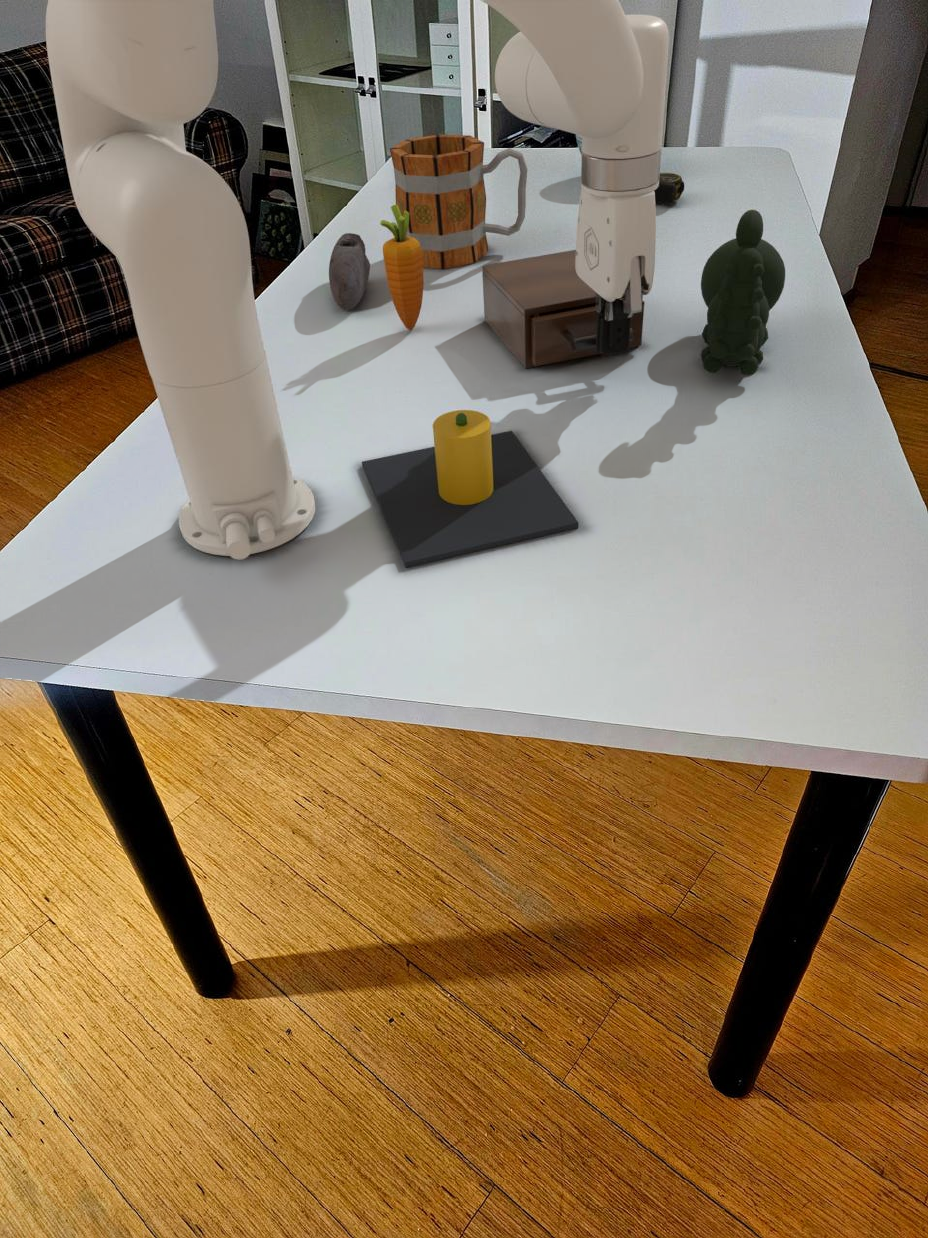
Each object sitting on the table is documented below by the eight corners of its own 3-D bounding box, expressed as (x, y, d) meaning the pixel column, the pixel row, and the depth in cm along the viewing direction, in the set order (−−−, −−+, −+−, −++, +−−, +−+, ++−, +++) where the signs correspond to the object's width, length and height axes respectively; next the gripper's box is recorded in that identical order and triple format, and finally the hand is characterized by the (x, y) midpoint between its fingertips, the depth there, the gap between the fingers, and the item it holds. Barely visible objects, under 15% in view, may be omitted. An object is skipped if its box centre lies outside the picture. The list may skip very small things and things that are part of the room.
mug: (397, 271, 131) (385, 160, 121) (403, 241, 141) (392, 137, 132) (530, 263, 130) (529, 151, 120) (526, 234, 140) (525, 128, 131)
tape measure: (633, 204, 149) (634, 180, 146) (651, 193, 153) (653, 169, 150) (670, 209, 145) (672, 185, 143) (688, 197, 149) (691, 173, 147)
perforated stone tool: (363, 319, 118) (355, 266, 114) (324, 321, 119) (315, 268, 114) (375, 278, 130) (369, 229, 125) (340, 280, 130) (332, 230, 125)
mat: (578, 527, 79) (578, 522, 79) (405, 567, 76) (404, 562, 76) (511, 435, 92) (511, 430, 92) (362, 466, 90) (361, 461, 89)
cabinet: (639, 346, 107) (643, 287, 102) (525, 368, 104) (524, 309, 100) (588, 301, 118) (590, 246, 114) (484, 320, 116) (481, 265, 111)
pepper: (500, 498, 83) (497, 420, 77) (447, 509, 82) (440, 432, 76) (483, 470, 86) (479, 395, 81) (432, 481, 85) (425, 406, 80)
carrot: (424, 338, 112) (412, 213, 103) (387, 337, 113) (371, 213, 104) (433, 322, 116) (422, 200, 106) (396, 321, 117) (383, 201, 107)
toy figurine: (769, 412, 96) (777, 303, 113) (801, 237, 83) (806, 142, 99) (680, 405, 99) (701, 299, 115) (697, 234, 85) (719, 142, 101)
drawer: (657, 359, 102) (661, 314, 98) (548, 381, 99) (548, 335, 96) (592, 302, 116) (594, 261, 112) (495, 320, 113) (493, 278, 110)
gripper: (556, 157, 91) (555, 331, 103) (616, 196, 80) (608, 385, 92) (623, 147, 92) (615, 319, 104) (692, 183, 81) (674, 371, 93)
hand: (612, 350), depth 98 cm, fingers closed
